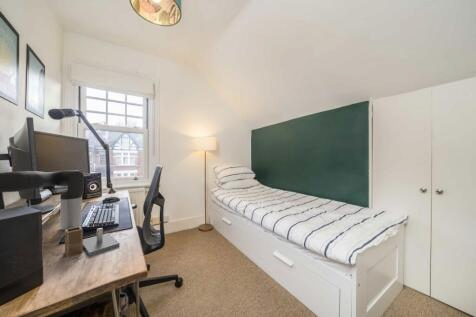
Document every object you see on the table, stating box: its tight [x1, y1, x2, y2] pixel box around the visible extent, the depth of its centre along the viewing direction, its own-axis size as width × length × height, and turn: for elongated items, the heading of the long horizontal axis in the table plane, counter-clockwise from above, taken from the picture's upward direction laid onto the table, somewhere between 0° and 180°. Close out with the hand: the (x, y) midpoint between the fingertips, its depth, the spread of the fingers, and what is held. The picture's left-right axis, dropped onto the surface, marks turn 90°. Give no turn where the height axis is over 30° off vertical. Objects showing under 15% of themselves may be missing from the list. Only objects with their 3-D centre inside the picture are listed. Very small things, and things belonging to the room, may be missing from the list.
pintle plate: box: [83, 227, 121, 257], centre depth 85 cm, size 17×11×8 cm, turn 50°
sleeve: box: [64, 226, 84, 258], centre depth 78 cm, size 5×5×10 cm
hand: (34, 247), depth 69 cm, fingers open, 8 cm apart
